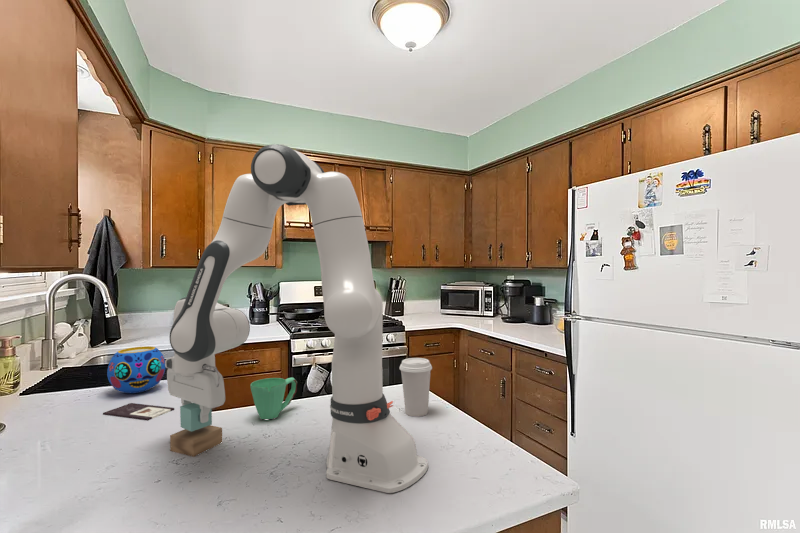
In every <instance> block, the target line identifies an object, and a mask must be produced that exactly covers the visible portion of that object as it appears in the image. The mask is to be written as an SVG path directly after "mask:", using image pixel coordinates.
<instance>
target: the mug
mask: <svg viewBox="0 0 800 533" xmlns="http://www.w3.org/2000/svg"><path fill="white" fill-rule="evenodd" d="M288 384H291V389H290V390H289V393H288V394H287V396H286V398H285V392H286V388H287V386H288ZM249 385H250V392H251V394H252V399H253V404H254V406H255V409H256V411H257V413H258V417H259V418H260V420H261V419H273V418H276V417H277V418H278V417H279V415H280V413H281V412H283V410H284V409H286V408H287V407H288V406H289V405H290V404H291V402H292V400H293V398H294V397H295V395H296V393H297V391H298V381H297V380H296V379H295V378H294V377H288V378H286V379H284V378H282V377H269V378H262V379H261V378H260V379H258V380H254V381H253V382H251V383H250V384H249ZM284 398H285V399H284ZM277 418H276V419H277ZM273 420H274V419H273Z"/></svg>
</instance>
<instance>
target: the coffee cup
mask: <svg viewBox="0 0 800 533" xmlns="http://www.w3.org/2000/svg"><path fill="white" fill-rule="evenodd" d="M399 370H400V373H401V382H402V383H401V384H402V391H403V392H402V393H403V400H404V401H403V402H404V410H405V414H406V416H409V417H413V418H414V417H415V418H419V417H424V416H427V415H428V413H429V403H430V402H429V400H430V386H431V385H430V383H431V371H432V370H433V366H432V364H431V361H430V359H428V358H424V357H423V358H422V357H409V358H405V359H402V360H401V363H400V365H399Z"/></svg>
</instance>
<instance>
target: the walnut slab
mask: <svg viewBox="0 0 800 533" xmlns="http://www.w3.org/2000/svg"><path fill="white" fill-rule="evenodd" d="M169 437H170V438H169V440H170V442H169V444H170V445H169V446H170V450H169V451H170V452H173V453H177V454H181V455H185V456H189V457H193V458H195V457H196V455H197V456H199V455H201V454H203V453H205V452H207V451H209V450H211V449H213V448H215V447H217V446H219V445H221V444H222V443H223V427H220V426H215V425H209V426H206V427H203V428H200V429H198V430H195V431H192V432H191V431H189V430H186V429H184V428H183V429H182V430H180V431H179V430H178V431H177V432H175V433H172V434H171V435H170V436H169ZM221 442H222V443H221ZM220 443H221V444H220ZM218 444H219V445H218ZM216 445H217V446H216ZM214 446H215V447H214ZM208 449H209V450H208ZM206 450H207V451H206ZM204 451H205V452H204ZM202 452H203V453H202ZM200 453H201V454H200ZM198 454H199V455H198Z"/></svg>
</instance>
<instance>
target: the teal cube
mask: <svg viewBox="0 0 800 533" xmlns="http://www.w3.org/2000/svg"><path fill="white" fill-rule="evenodd" d="M212 409H213V408H212ZM212 409H211V410H210V412H209V420H208V421H207V422H205V423H201V422H199V421H198V415H200V412H201V409H200V405H198V404H195V403H190V404H187V405H183V406H182V405H180V407H179V411H180V420H179V421H180V428H182V429H183V430H184V429H186V430H189V431H191V432H192V431H195V430H198V429H200V428H203V427H206V426H209V425H211V426H213V415H212V414H213V410H212Z"/></svg>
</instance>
